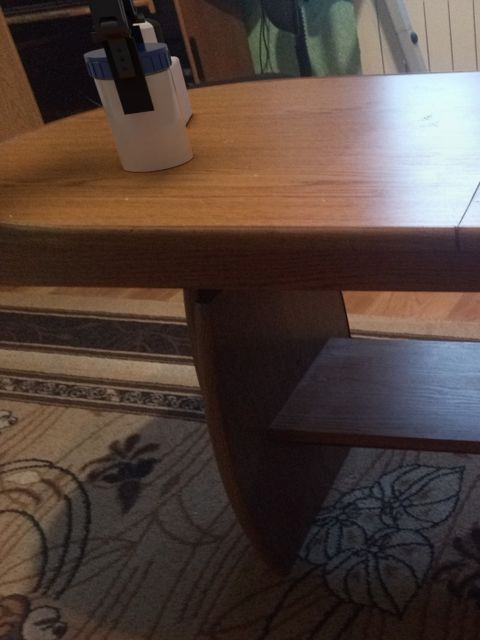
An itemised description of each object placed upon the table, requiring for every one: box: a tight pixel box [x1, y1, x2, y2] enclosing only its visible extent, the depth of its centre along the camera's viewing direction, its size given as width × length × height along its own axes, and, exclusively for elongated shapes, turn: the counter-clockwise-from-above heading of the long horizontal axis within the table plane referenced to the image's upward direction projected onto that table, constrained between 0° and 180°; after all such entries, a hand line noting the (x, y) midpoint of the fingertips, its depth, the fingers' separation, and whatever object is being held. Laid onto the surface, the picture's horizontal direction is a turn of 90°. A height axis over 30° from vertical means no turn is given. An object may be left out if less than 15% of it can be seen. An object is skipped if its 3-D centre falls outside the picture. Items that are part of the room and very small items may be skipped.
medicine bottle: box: [133, 17, 193, 127], centre depth 89 cm, size 7×7×12 cm
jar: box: [93, 67, 194, 173], centre depth 75 cm, size 7×7×11 cm
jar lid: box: [83, 43, 172, 79], centre depth 72 cm, size 8×8×2 cm
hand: (142, 101), depth 74 cm, fingers open, 9 cm apart
